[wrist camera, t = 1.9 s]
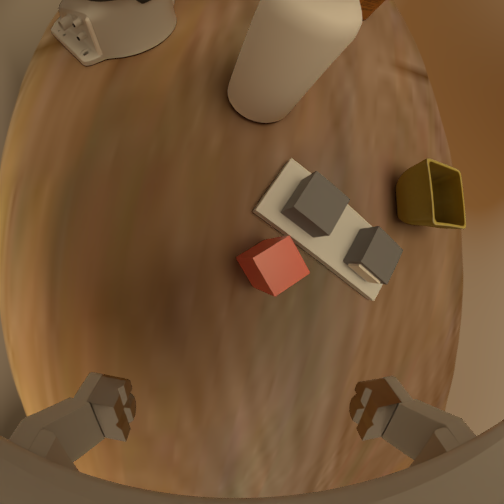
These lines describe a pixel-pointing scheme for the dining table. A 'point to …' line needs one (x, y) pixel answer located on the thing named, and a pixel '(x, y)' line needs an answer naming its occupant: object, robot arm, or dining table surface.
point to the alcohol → (289, 53)
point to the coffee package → (369, 7)
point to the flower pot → (431, 196)
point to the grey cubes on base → (329, 228)
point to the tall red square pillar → (273, 265)
